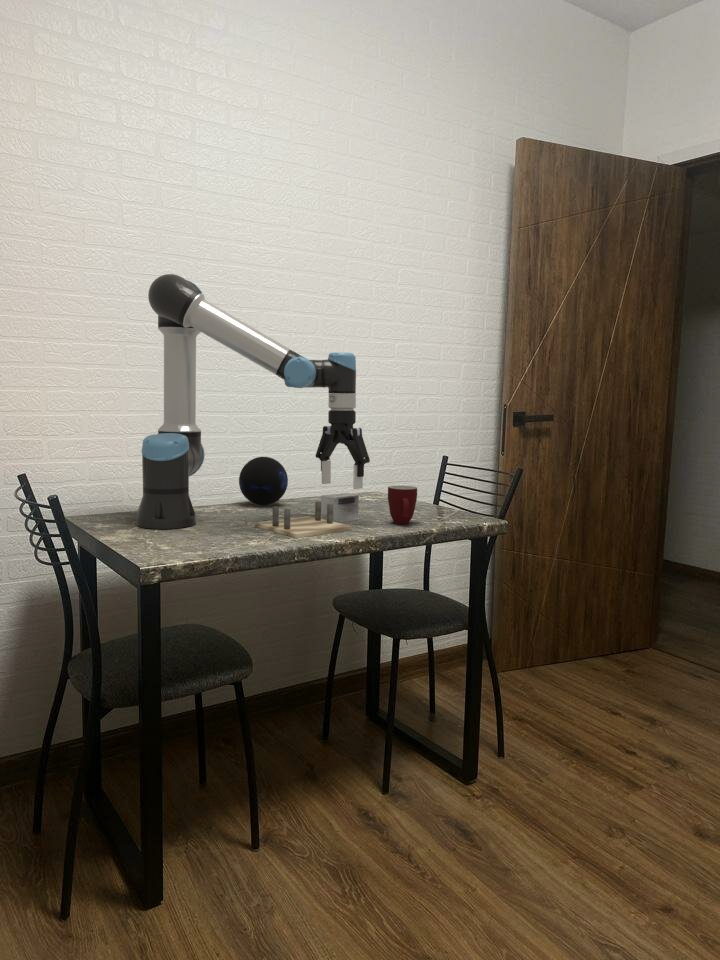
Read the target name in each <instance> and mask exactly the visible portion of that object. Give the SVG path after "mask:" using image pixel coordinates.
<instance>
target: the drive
mask: <svg viewBox="0 0 720 960" xmlns="http://www.w3.org/2000/svg"><path fill="white" fill-rule="evenodd" d="M359 496H360V495H358V494H353V493H348V492H343V493H333V494H323V495H321V496H320V497H321V498H320V499H321V501H320V502H321V519H324V520H327V504H333V522H337V523H342V522H343V523H345V522H351V521H358V520H359V502H360V501H359V499H360V497H359Z"/></svg>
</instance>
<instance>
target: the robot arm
mask: <svg viewBox="0 0 720 960" xmlns="http://www.w3.org/2000/svg"><path fill="white" fill-rule="evenodd" d="M147 298H148V303H149V305H150V308H151V309H152V311H153V312H154V313H155V314H156V315H157V329H158V330H159V331H160V333H161V334H163V424H162V425H161V426H160V427H159V428H158V429H157V431H158V432H157V434H150V435H147V436H145V437H144V439H143V440H142V447H141V456H142V461H141V463H142V497H141V500H140V503H139V507H138V510H137V513H136V516H135V523H136V524H135V525H136V526H137V527H140V528H144V529H153V530H154V529H155V530H156V529H157V530H164V529H165V530H168V529H169V530H170V529H171V530H172V529H173V530H174V529H181V528H187V527H192V526H194V525H196V524H197V523H196V522H197V520H196V518H197V517H196V513H195V509H194V507H193V503H192V501H191V497H190V494H189V493H190V492H189V491H190V490H189V489H190V486H189V485H190V483H189V482H190V481H189V479H190V477H191V476H194V474H196V473H197V472H198V471H199V470H200V469H201V467H202V465H203V463H204V460H205V448H204V446H203V443H202V430H201V428H200V427H199V426H198V425H197V424H196V418H197V417H196V412H197V411H196V409H197V407H196V405H197V404H196V402H197V401H196V400H197V399H196V398H197V395H196V394H197V393H196V392H197V391H196V389H197V387H196V386H197V380H196V379H197V337H198V336H199V335H200V333H203V334H204V335H205V336H208V337H209V338H210V339H213V340H215V341H216V342H217V343H220V344H222V346H225V347H227V348H228V349H229V350H232V351H234V352H235V353H237V354H239V355H240V356H242V357H244V358H245V359H248V360H249V361H251V362H253V363H255V364H256V365H259V366H260V367H261V368H263V369H265V370H267V371H268V372H270V373H272V374H274V375H276V376H277V377H279V378H280V379H282V380H283V382H284V385H285V387H287V388H295V389H303V388H305V389H307V388H323V389H324V388H327V389H328V409H330V410H328V415H327V417H328V419H327V420H328V421H327V422H328V424H330V425H324V426H322V434H321V437H320V441H319V444H318V447H317V450H316V452H315V458H316V459H318V460H319V461H320V472H321V484H322V485H326V484H331V483H332V479H331V477H332V476H331V475H332V474H331V471H332V467H331V466H332V463H331V462H332V461H331V459H330V458H331V456H332V454H333V452H334V451H335V450H336V447H337V446H338V444H341V445H344V446H346V448H347V449H348V452H349V454H350V455H351V457H352V459H353V461H354V464H353V475H352V477H353V478H352V479H353V482H352V483H353V484H352V485H353V487H352V488H353V490H359V489H363V485H364V483H363V481H364V480H363V479H364V476H365V472H364V471H365V464H369V463H370V462H371V459H370V456H369V452H368V450H367V447H366V444H365V441H364V438H363V429H362V427H354V424H356V422H357V421H356V420H357V418H356V417H357V415H356V413H357V411H355V410H354V409H356V407H357V396H356V395H357V394H356V391H357V387H356V386H357V384H356V383H357V380H356V379H357V365H356V364H357V363H356V361H357V360H356V359H357V357H356V355H354V353H352V352H343V351H342V352H341V351H340V352H330V353H328V357H327V359H308V358H306V357H304V356H303V355H301V354H299V353H297V352H295V351H294V350H291V349H290V347H287V346H286V345H283V344H282V343H280V342H278V341H276V340H274V339H273V338H271V337H270V336H267V335H266V334H265V333H263V332H261V331H260V330H258V329H256V328H254V327H252V326H250V325H249V324H247V323H246V322H244V321H242V320H240V319H239V318H237V317H235V316H233V315H232V314H230V313H228V312H226V311H225V310H223V309H222V308H220V307H218V306H216V305H214V304H213V303H211V302H210V301H208V300H206V299H205V295H204V294H203V292H202V290H201V289H200V288H199V287H198V286H197V285H196V284H195V283H194V282H193V281H190V280H188V279H186V278H184V277H181V275H177V274H174V273H167V274H166V273H165V274H162V275H159V276H158V277H157V278H155V279H154V280H153V281H152V283H151V284H150V286H149V289H148V297H147Z"/></svg>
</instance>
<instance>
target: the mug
mask: <svg viewBox="0 0 720 960" xmlns="http://www.w3.org/2000/svg"><path fill="white" fill-rule="evenodd" d="M417 497H418V487H416V486H411V485H400V484H399V485H389V486H387V502H388V507H389V513H390V516H391V519H392V521H393V523H394V524H396V525H402V524H403V525H409V524H410V522H411V521H412V518H413V516H414V513H415V511H416V510H415V509H416V505H417V500H418V499H417Z"/></svg>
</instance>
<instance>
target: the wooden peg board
mask: <svg viewBox="0 0 720 960" xmlns="http://www.w3.org/2000/svg"><path fill="white" fill-rule="evenodd" d="M314 507H315V508H314V516H310V515H307V516H299V517H291V508H283V511H284V512H283V514H284V515H283V519H280V506H277V505H274V506H272V520H268V521H267V520H266V521H259V522H254V527H255V528H258V529H262V530H266V531H269V532H272V533H273V532H274V533H277V534H280V535H284V536H287V535H288V536H287V537H291V536H292V538H294V537H295V539H298V538H299V537H300V538H304V537H305V538H307V537H311V536H312V537H313V536H319V535H326V534H332V533H333V534H334V533H339V532H345V531H352V530H353V529H352V528H353V527H352V525H349V524H344V523H342V522H338V523H337V522H333V504H327V520H324V519H321V501H315V502H314ZM300 538H299V539H300Z"/></svg>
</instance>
